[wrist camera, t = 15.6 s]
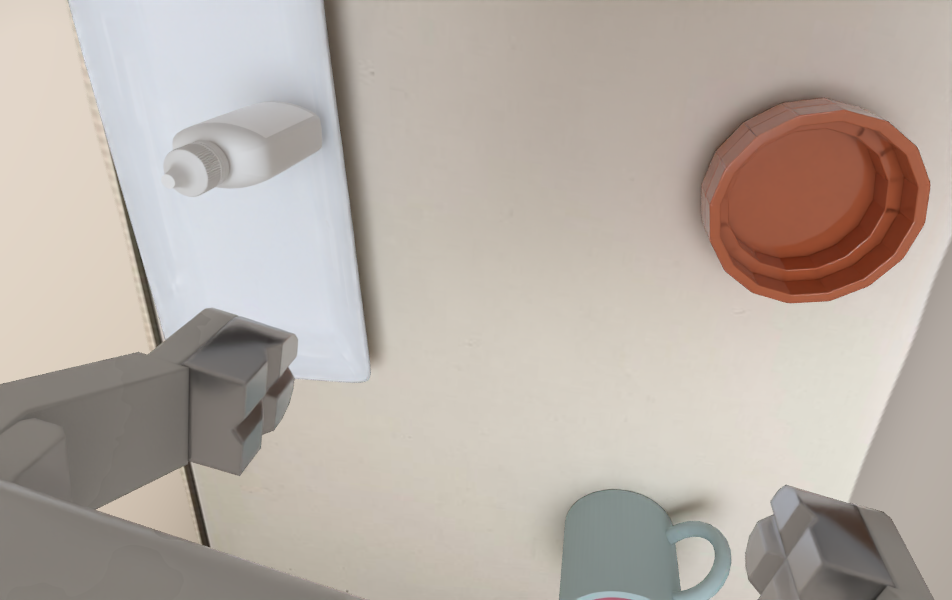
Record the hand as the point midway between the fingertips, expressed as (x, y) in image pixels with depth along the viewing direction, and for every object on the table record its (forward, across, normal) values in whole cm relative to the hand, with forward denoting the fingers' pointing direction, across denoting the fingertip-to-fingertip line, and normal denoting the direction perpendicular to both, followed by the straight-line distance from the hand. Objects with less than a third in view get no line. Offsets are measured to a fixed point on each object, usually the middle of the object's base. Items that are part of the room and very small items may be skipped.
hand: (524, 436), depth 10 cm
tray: (+33, +22, +11) cm, 41 cm away
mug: (+33, -15, +32) cm, 49 cm away
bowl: (+33, -14, +2) cm, 36 cm away
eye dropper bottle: (+30, +18, +6) cm, 35 cm away
